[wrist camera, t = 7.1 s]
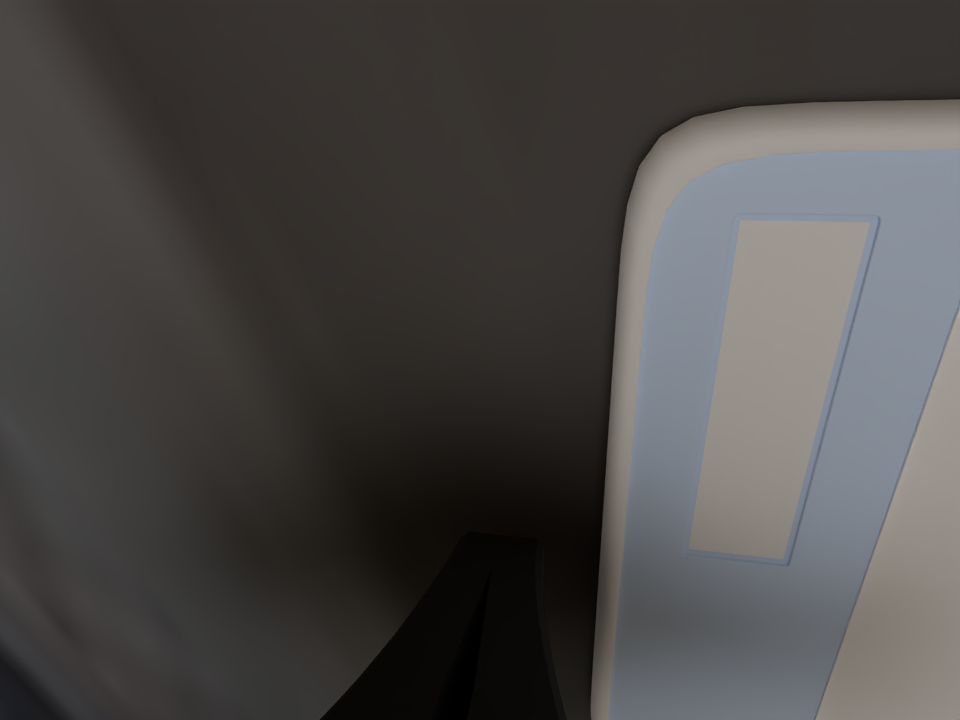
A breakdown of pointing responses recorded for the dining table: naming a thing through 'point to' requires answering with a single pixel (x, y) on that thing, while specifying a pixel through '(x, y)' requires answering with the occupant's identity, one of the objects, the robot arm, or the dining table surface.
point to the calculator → (786, 421)
